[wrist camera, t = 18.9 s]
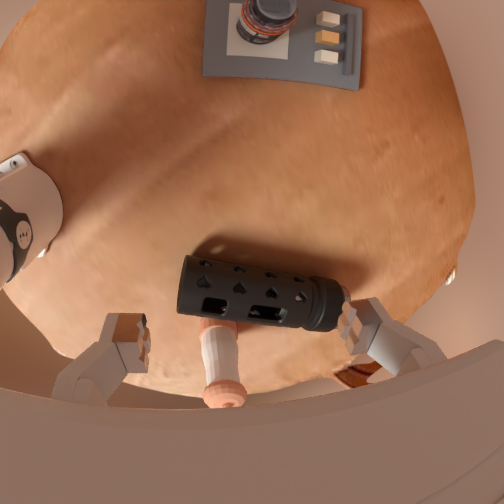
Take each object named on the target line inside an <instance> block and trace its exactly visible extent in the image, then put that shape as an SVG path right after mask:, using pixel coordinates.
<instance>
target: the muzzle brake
mask: <svg viewBox="0 0 504 504" xmlns="http://www.w3.org/2000/svg"><path fill="white" fill-rule="evenodd" d="M345 301H351V298H350V294H349V291H348V290H347V288H346V287H344V286H343V285H340V284H339V283H338V282H337V281H335V280H333V279H327V278H321V277H312V278H309V279H308V278H306V277H305V276H300V275H295V274H289V273H283V272H277V271H272V270H266V269H261V268H255V267H249V266H244V265H238V264H233V263H227V262H222V261H217V260H211V259H206V258H200V257H195V256H190V255H186V256H185V259H184V263H183V267H182V272H181V277H180V283H179V290H178V298H177V313H179V314H185V315H195V316H199V317H205V318H212V319H219V320H229V321H235V322H242V323H251V324H261V325H268V326H278V327H290V328H299V327H302V328H304V329H305V330H307V331H317V332H329V331H331V330H333V329H338V319H339V316H340V315H341V314H342V313H343V310H342V306H343V303H344V302H345ZM223 309H226V310H225V311H223ZM252 312H253V313H254V314H255V315H253V314H251V313H252Z"/></svg>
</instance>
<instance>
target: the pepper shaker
mask: <svg viewBox="0 0 504 504" xmlns="http://www.w3.org/2000/svg"><path fill="white" fill-rule="evenodd" d="M199 338H200V342H201V343H202V357H203V361H204V364H205V368H206V377H207V387H206V388H205V390H204V393H203V399H204V402H205V403H206V404H207V405H208V406H209V407H210V408H226V407H240V406H241V405H243V403H244V402H245V400H246V397H247V391H246V390H245V388H244V386H243V385H242V384H240V379H239V372H238V345H237V339H238V334H237V328H236V322H235V321H229V320H219V319H212V318H205V317H203V318H202V320H201V321H200V324H199Z"/></svg>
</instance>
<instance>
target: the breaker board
mask: <svg viewBox="0 0 504 504" xmlns="http://www.w3.org/2000/svg"><path fill="white" fill-rule="evenodd" d="M244 1H245V0H207V2H206V15H205V29H204V46H203V67H202V77H233V78H256V79H271V80H282V81H292V82H301V83H308V84H316V85H322V86H329V87H335V88H340V89H346V90H351V91H359V79H360V64H361V46H362V9H361V8H358V7H355V6H351V5H348V4H344V3H340V2H337V1H333V0H296V1H297V6H298V11H299V14H298V19H297V21H296V23H295V24H294V25H293V26H292V27H291V28H290V29H289V30H287V31H286V32H285V33H283V34H282V35H281V36H279V37H278V38H277V39H275V40H274V41H272V42H270V43H268V44H263V45H256V44H252V43H249V42H247V41H245V40H244V39H243V38H242V37H241V36H240V35H239V34H238V32H237V29H236V21H237V17H238V15H239V13H240V10H241V8H242V5H243V3H244Z"/></svg>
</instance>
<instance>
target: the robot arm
mask: <svg viewBox="0 0 504 504" xmlns="http://www.w3.org/2000/svg"><path fill="white" fill-rule="evenodd" d="M15 161H16V164H15ZM62 220H63V205H62V200H61V197H60V194H59V191H58V189H57V187H56V185H55V184H54V182H53V181H52V179H51V178H50V177H49V176H48V175H47V174H46V173H45V172H44V171H42V170H41V169H39V168H37V167H36V166H34V165H33V164H32V163H31V161H30V160H29V158H28V157H27V156H26V155H25V154H24V153H22V152H20V153H18V154H16V155H14V156H12V157H11V158H9V159H7V160H5V161H3V162H2V163H0V290H1V289H2V287H3V286H4V284H5V283H7V282H9V281H10V280H11V279H12V278H13V277H15V276H16V274H17V273H18V272H19V271H20V270H21V271H22V270H24V269H25V268H26V267H27V266H28V265H29V264H30V263H31V262H32V261H33V260H34V259H35V258H36V257H43V256H44V255H45V254H46V252H47V249H48V245H49V243H50V241H51V240H52V239H53V238H54V237H55V236H56V235H57V233H58V232H59V230H60V227H61V224H62ZM342 310H343V313H342V314H341V315H340V316H339V319H338V331H339V334H340V336H341V337H342V338H343V339H345V340H346V342H345V346H346V348H347V350H348V352H349V354H350V356H351V355H357V354H363V353H367V354H368V355H369V356H371V357H372V358H373V359H374V360H376V361H377V362H378V363H379V364H381V365H382V366H383V367H385V368H386V369H387V370H388V371H390V372H391V373H392V374H393V375H395V376H396V377H395V378H391V379H388V380H384V381H381V382H377V383H373V384H369V385H365V386H361V387H357V388H353V389H349V390H344V391H340V392H335V393H330V394H326V395H320V396H315V397H309V398H304V399H297V400H291V401H284V402H277V403H269V404H260V405H250V406H240V407H226V408H210V409H138V408H122V407H109V406H108V405H107V403H106V401H107V400H108V398H109V397H110V396H111V395H112V393H113V392H114V391H115V389H116V388H117V387H118V386H119V384H120V383H121V382H122V381H123V379H124V378H125V377H126V376H127V373H148V365H149V358H148V355H147V354H148V353H149V352H150V347H151V338H150V332H149V329H148V328H147V327H146V322H147V320H146V317H145V314H144V313H108V314H107V316H106V319H105V322H104V325H103V329H102V332H101V335H100V338H99V342H95V343H93V344H92V345H91V346H90V347H89V348H88V349H86V350H85V351H84V352H83V353H82V354H81V355H79V356H78V357H77V358H76V359H75V360H74V361H73V362H72V363H70V364H69V365H68V366H67V367H66V368H65V369H64V370H62V372H60V373H59V374H58V376H57V379H56V382H55V385H54V389H53V392H52V395H51V399H50V398H44V397H39V396H34V395H29V394H25V393H20V392H16V391H12V390H8V389H4V388H0V504H504V342H502V341H500V340H492V341H490V342H488V343H486V344H484V345H481V346H479V347H477V348H474V349H472V350H470V351H468V352H465V353H463V354H460V355H458V356H456V357H453V358H450V359H447V358H446V356H445V355H444V353H443V352H442V351H441V349H440V348H439V346H438V345H437V344H436V342H434V341H433V340H431V339H429V338H427V337H425V336H424V335H422V334H420V333H418V332H416V331H414V330H413V329H411V328H409V327H407V326H405V325H404V324H402V323H400V322H398V321H396V320H394V321H393V320H392V318H391V317H390V316H389V314H388V313H387V311H386V310H385V308H384V307H383V306H382V304H381V303H380V301H379V300H378V299H377V298H375V297H374V298H367V299H360V300H352V301H345V302H344V303H343V306H342Z"/></svg>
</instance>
